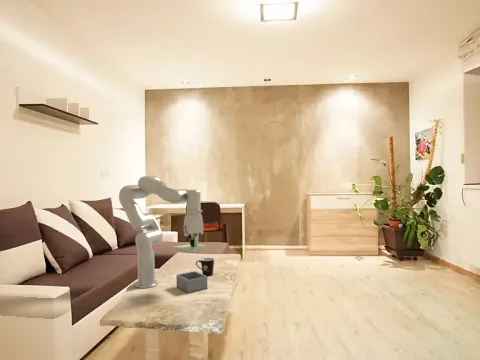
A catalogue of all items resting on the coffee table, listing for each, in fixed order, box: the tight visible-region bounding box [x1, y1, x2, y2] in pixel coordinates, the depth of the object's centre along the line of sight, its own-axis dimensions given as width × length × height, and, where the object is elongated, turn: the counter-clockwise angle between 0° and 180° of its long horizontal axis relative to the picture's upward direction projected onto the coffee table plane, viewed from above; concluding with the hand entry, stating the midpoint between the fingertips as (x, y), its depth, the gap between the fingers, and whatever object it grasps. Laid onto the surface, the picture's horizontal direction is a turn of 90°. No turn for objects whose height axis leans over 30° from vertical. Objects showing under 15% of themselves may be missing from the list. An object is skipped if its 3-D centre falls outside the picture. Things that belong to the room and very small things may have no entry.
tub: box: [175, 270, 208, 295], centre depth 185 cm, size 14×12×7 cm
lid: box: [172, 235, 206, 253], centre depth 182 cm, size 17×13×8 cm
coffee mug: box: [195, 257, 215, 277], centre depth 211 cm, size 12×9×10 cm
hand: (194, 246), depth 179 cm, fingers closed on lid, 1 cm apart
